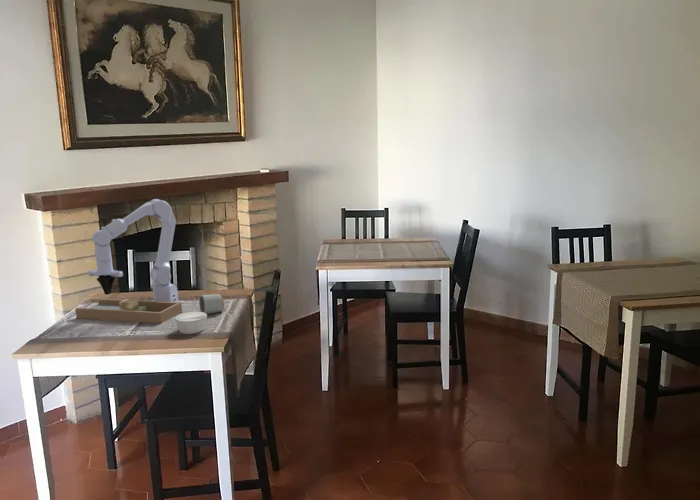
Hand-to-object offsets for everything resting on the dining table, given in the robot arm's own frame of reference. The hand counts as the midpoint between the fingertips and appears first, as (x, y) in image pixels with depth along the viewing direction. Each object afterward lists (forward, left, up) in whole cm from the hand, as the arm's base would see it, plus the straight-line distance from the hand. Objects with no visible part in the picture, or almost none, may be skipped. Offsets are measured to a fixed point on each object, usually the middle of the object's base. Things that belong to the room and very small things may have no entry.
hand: (108, 293), depth 232 cm
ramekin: (-44, +12, -9) cm, 46 cm away
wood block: (-9, 0, -6) cm, 11 cm away
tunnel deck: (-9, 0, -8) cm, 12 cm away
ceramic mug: (-40, -9, -9) cm, 42 cm away
